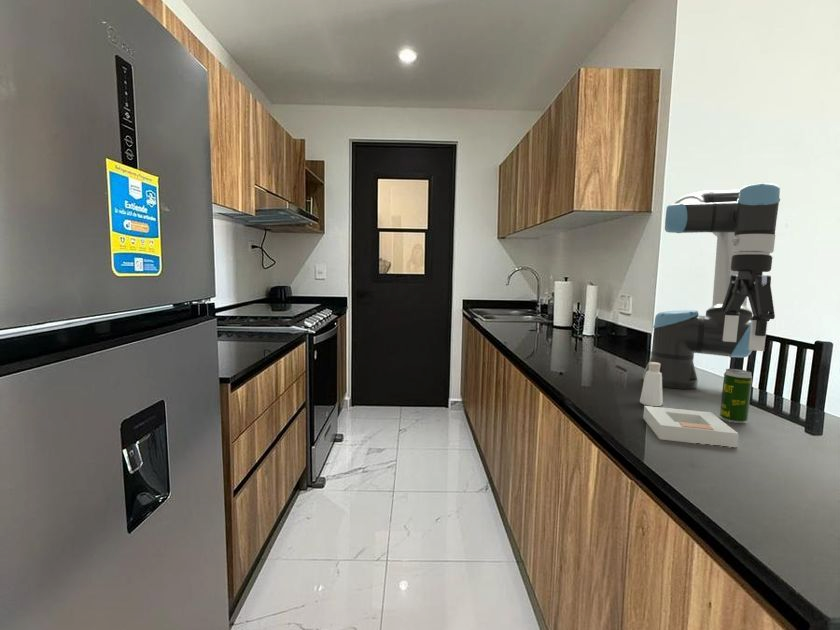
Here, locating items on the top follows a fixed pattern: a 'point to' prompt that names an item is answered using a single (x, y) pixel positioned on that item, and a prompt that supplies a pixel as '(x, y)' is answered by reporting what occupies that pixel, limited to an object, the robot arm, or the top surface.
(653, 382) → the salt shaker
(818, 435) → the top surface
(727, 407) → the beer can
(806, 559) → the top surface
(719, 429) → the socket block
